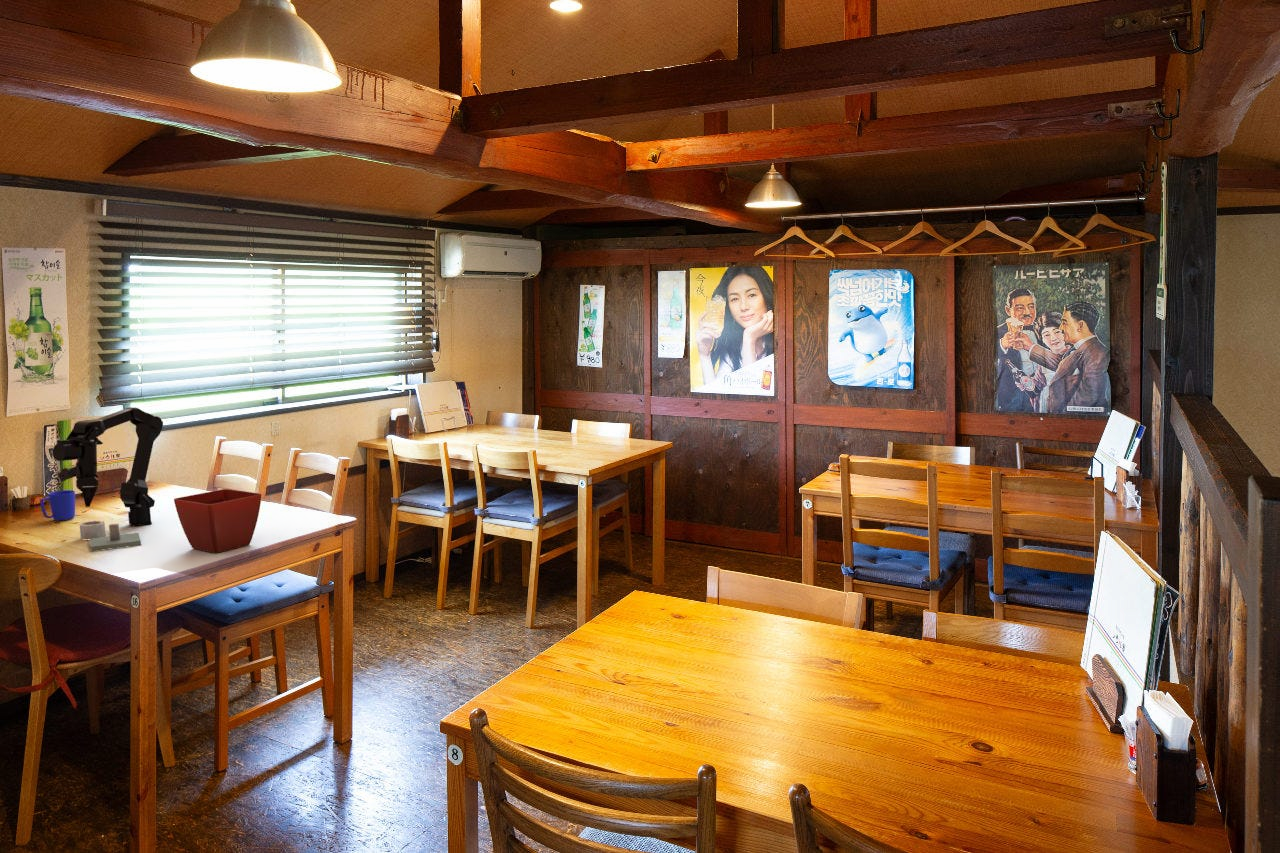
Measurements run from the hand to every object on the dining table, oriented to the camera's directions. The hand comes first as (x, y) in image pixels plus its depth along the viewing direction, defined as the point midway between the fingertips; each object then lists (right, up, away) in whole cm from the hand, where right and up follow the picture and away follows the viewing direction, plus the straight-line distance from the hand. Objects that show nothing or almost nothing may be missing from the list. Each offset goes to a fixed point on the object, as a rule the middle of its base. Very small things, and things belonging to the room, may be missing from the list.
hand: (87, 504), depth 305 cm
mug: (-27, -8, +27) cm, 39 cm away
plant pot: (+50, -13, -11) cm, 53 cm away
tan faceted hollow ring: (+1, -11, +2) cm, 11 cm away
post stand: (+13, -12, -7) cm, 20 cm away
